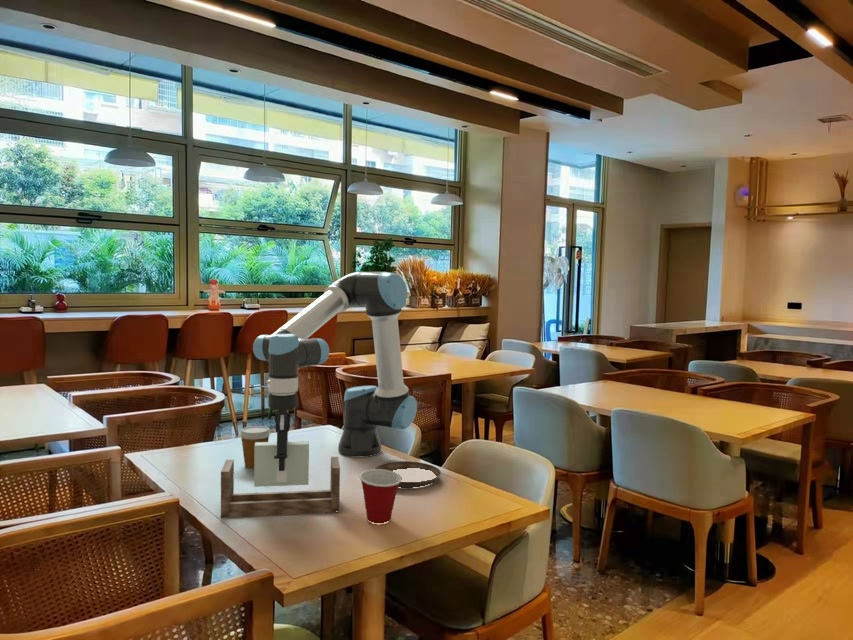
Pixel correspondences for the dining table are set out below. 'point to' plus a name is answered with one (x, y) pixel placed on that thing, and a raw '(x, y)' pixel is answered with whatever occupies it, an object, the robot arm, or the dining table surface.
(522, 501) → the dining table surface
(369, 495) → the plastic cup
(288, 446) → the white flat block
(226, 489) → the wooden rack
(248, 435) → the disposable coffee cup
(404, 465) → the plant saucer
